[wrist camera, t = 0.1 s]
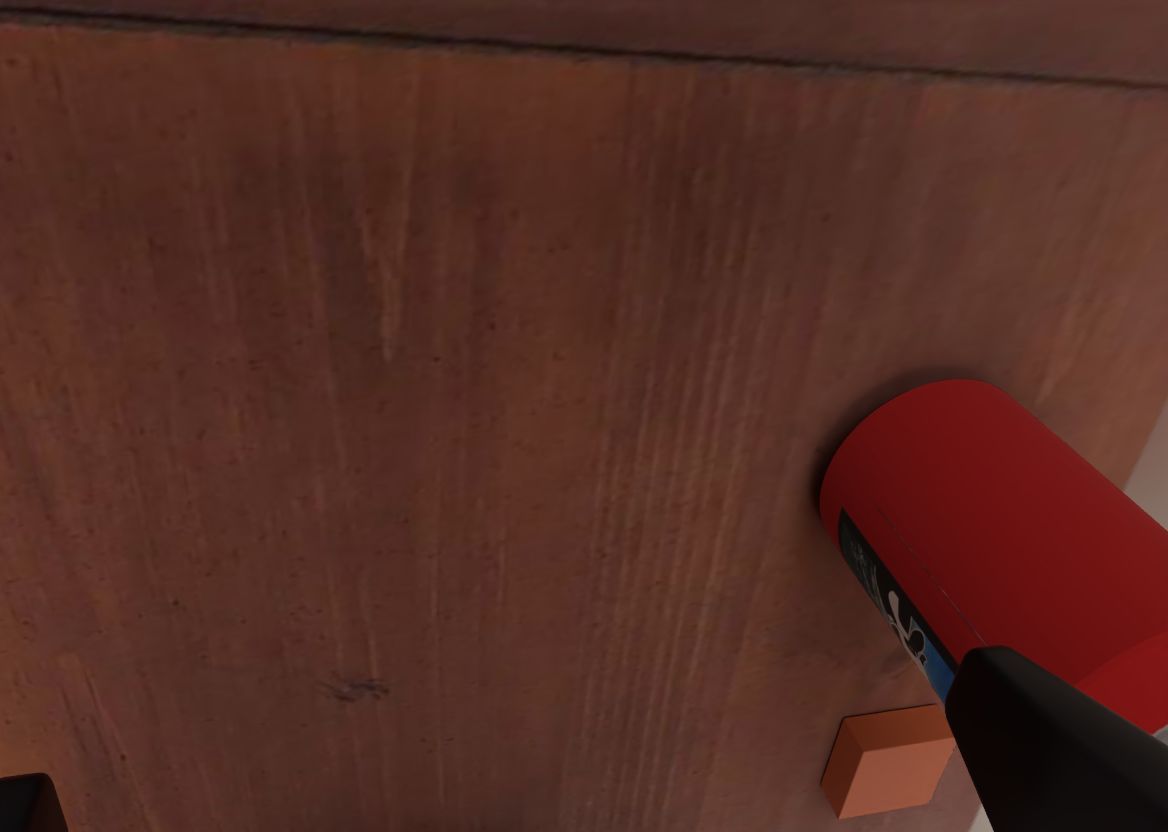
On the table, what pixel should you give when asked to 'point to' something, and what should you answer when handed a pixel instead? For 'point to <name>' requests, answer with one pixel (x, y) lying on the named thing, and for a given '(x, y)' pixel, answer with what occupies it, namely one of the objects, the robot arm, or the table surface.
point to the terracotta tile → (887, 761)
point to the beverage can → (1002, 546)
